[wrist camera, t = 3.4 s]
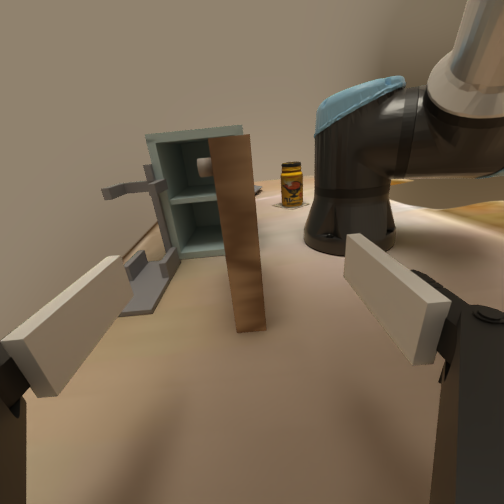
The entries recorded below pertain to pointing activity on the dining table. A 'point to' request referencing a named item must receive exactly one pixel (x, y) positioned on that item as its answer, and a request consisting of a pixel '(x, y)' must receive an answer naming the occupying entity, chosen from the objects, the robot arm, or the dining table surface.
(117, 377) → the dining table surface
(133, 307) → the cabinet
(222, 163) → the door
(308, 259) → the dining table surface
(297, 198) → the condiment
